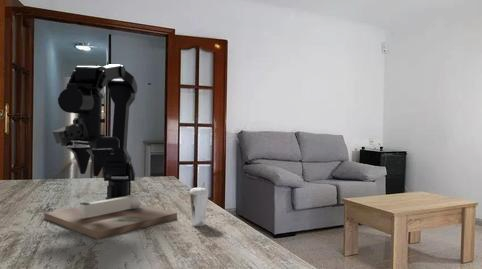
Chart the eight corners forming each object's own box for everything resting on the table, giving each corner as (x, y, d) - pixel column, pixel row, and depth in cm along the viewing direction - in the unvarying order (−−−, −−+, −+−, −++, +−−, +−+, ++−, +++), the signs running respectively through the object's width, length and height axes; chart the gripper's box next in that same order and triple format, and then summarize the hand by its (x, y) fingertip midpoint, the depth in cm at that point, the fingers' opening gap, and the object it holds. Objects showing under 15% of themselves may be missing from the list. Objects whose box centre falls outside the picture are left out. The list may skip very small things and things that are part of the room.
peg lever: (134, 205, 95) (134, 193, 95) (142, 207, 93) (142, 195, 93) (78, 216, 83) (78, 202, 83) (86, 218, 80) (86, 204, 80)
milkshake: (212, 222, 86) (212, 182, 86) (202, 228, 81) (203, 185, 81) (195, 220, 88) (196, 181, 88) (185, 226, 83) (186, 184, 83)
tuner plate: (121, 204, 105) (121, 199, 105) (177, 218, 89) (177, 212, 89) (44, 218, 87) (44, 212, 87) (97, 239, 72) (97, 231, 72)
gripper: (40, 113, 88) (40, 174, 88) (76, 112, 77) (76, 182, 77) (82, 115, 97) (82, 170, 97) (121, 114, 86) (120, 177, 86)
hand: (89, 175), depth 89 cm, fingers open, 6 cm apart
